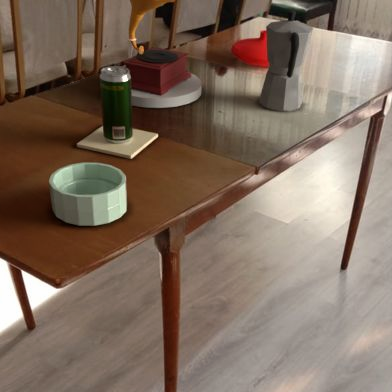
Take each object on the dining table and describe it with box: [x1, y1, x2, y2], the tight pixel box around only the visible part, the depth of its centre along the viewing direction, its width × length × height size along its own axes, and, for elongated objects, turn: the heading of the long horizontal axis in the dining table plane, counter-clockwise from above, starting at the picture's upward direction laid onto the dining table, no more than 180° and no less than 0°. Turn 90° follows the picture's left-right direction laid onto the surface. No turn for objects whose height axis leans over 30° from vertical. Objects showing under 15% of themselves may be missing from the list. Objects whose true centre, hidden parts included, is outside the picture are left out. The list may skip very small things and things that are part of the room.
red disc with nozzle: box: [230, 29, 269, 68], centre depth 152 cm, size 16×16×7 cm
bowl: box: [48, 162, 128, 227], centre depth 95 cm, size 11×11×5 cm
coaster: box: [76, 125, 159, 160], centre depth 116 cm, size 11×11×1 cm
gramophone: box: [122, 0, 202, 109], centre depth 129 cm, size 20×20×25 cm
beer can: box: [99, 65, 134, 144], centre depth 111 cm, size 5×5×12 cm
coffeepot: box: [258, 9, 314, 112], centre depth 127 cm, size 15×9×18 cm, turn 2°
